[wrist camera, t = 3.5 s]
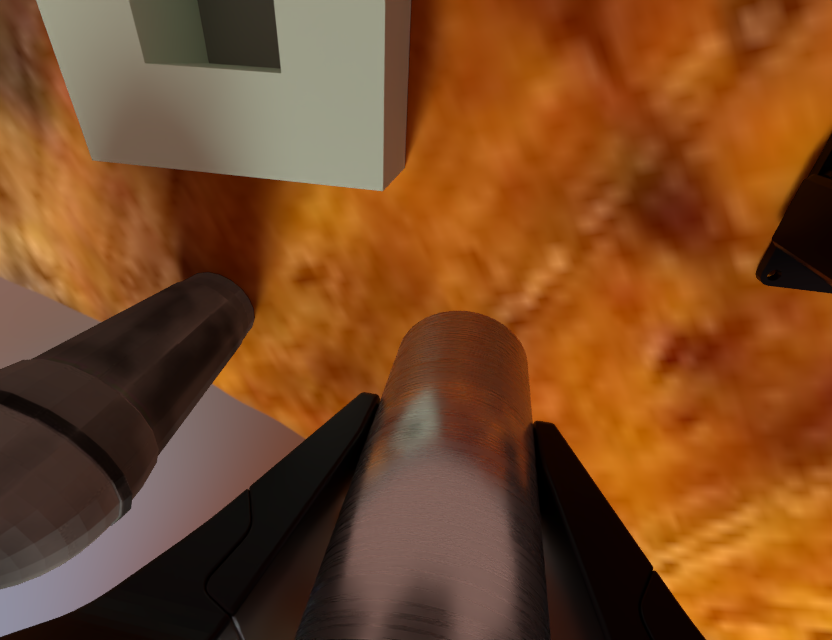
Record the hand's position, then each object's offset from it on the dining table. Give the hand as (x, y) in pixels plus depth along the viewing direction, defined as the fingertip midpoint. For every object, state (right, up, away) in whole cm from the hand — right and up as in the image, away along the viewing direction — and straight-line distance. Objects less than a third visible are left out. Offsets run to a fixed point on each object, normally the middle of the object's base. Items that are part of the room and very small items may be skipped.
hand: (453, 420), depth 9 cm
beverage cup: (-13, +3, +15) cm, 20 cm away
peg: (0, +1, +2) cm, 2 cm away
